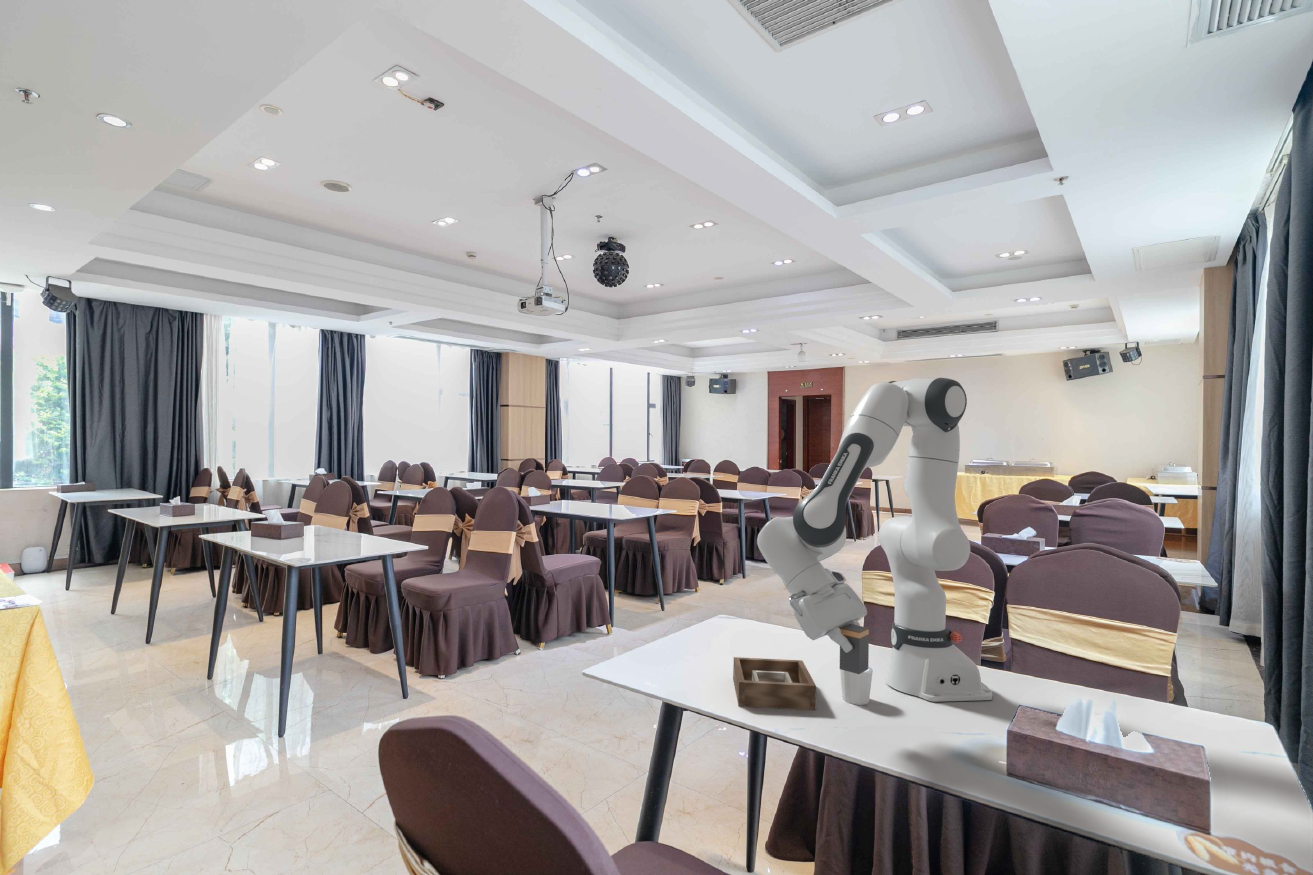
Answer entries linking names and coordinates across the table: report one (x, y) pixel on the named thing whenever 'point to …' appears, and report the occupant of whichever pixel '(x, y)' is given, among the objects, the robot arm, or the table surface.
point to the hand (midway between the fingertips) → (857, 646)
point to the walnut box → (773, 683)
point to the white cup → (856, 686)
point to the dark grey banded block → (855, 649)
